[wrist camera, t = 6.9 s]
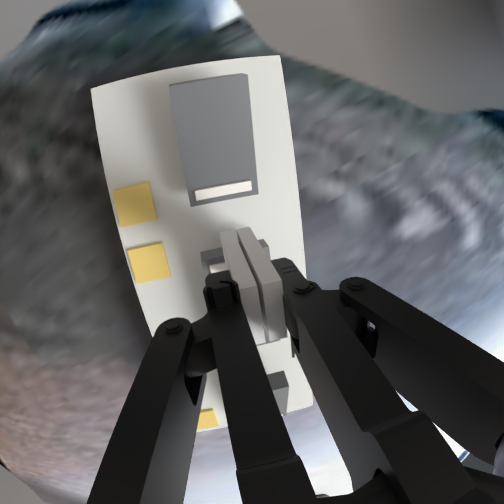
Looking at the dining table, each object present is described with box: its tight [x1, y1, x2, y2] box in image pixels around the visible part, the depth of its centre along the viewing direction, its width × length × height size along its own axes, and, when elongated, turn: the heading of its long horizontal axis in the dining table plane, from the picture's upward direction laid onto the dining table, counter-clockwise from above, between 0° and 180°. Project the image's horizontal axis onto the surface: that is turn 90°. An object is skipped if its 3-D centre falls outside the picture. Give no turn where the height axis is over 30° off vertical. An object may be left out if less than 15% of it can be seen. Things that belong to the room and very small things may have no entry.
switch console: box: [91, 55, 313, 432], centre depth 24 cm, size 12×30×6 cm, turn 8°
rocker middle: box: [200, 239, 280, 346], centre depth 20 cm, size 4×7×2 cm, turn 8°
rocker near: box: [169, 73, 259, 207], centre depth 17 cm, size 4×7×2 cm, turn 8°
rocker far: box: [267, 370, 289, 416], centre depth 24 cm, size 4×7×2 cm, turn 8°
